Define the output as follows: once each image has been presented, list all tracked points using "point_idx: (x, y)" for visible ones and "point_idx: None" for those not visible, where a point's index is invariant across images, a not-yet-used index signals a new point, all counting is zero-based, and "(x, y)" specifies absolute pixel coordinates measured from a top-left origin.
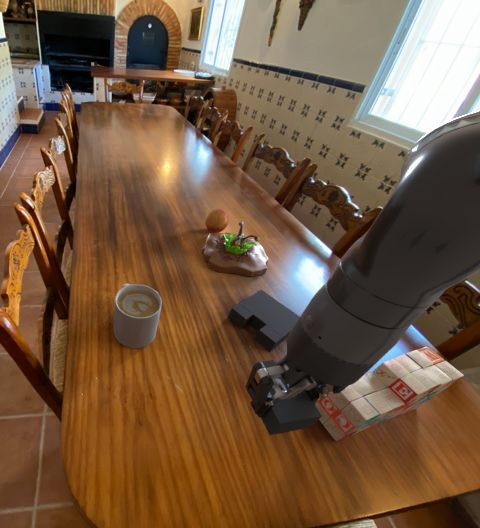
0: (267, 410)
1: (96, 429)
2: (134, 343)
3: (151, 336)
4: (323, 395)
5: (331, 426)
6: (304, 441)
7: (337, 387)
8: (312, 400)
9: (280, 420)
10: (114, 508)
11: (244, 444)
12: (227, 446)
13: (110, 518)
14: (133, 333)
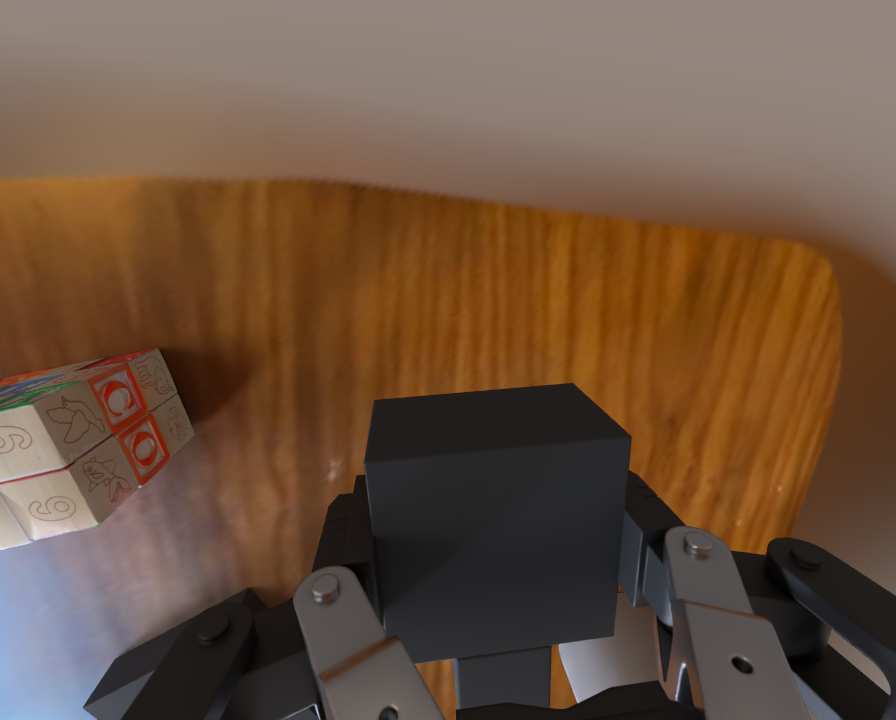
0: (627, 493)
1: (770, 414)
2: (642, 610)
3: None
4: (333, 594)
5: (157, 386)
6: (257, 354)
7: (227, 681)
8: (374, 541)
9: (617, 450)
10: (779, 263)
11: (433, 360)
12: (480, 359)
13: (792, 246)
14: None
